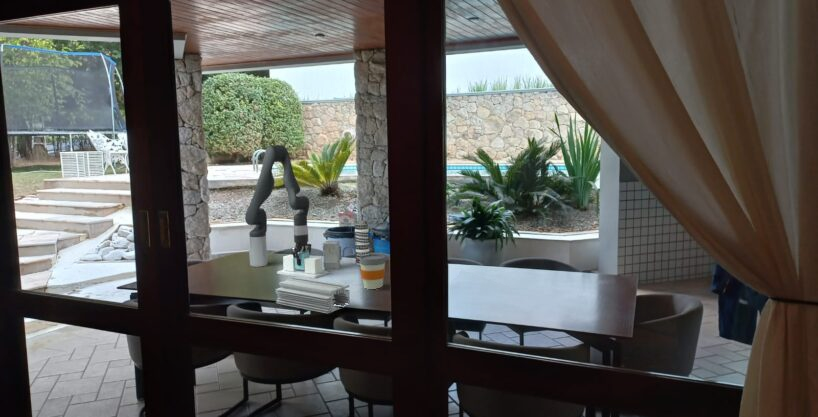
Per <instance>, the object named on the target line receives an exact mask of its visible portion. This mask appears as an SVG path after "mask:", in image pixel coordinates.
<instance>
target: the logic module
mask: <svg viewBox="0 0 818 417" xmlns="http://www.w3.org/2000/svg"><path fill="white" fill-rule="evenodd" d="M298 253H300V252H298ZM295 256H296V255H295ZM298 256H299V254H298ZM309 257H311V254H310V255H309V251H308V252H302V254H301V258H300V259H301V266H298V265H297V259H296V258H295V269H302V270H305V264H304V259H305V258H309Z"/></svg>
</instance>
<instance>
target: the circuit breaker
mask: <svg viewBox="0 0 818 417" xmlns="http://www.w3.org/2000/svg"><path fill="white" fill-rule="evenodd" d="M322 254H323V255H322V256H323V261H322V267H323V271H338V270H339V269H340V268H341V260H342V259H343V258H342V246H341V245H340V240H326V241H324V242H323V243H322Z"/></svg>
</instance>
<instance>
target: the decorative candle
mask: <svg viewBox="0 0 818 417" xmlns="http://www.w3.org/2000/svg"><path fill="white" fill-rule="evenodd" d="M354 228H355V229H354V231H353V234H354V245H355V264H356V266H361V265H360V257H361V256H364V255H371V251H370V244H371V243H370V241H371V238H369V237H371V235H370V234H371V233H370V229H369V222H368V221H367V220H365V219H364V220H357V221H356V222H355V223H354Z"/></svg>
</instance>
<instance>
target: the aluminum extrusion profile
mask: <svg viewBox="0 0 818 417" xmlns="http://www.w3.org/2000/svg"><path fill="white" fill-rule="evenodd" d="M278 284H279V286H280V287H279V288H275V293H276V295H277V298H276V300H275V302H276V304H279V305H283V306H289V307H294V308H298V309H304V310H308V311H313V312H319V313H324V314H330V313H333V312H335V311H338V310H340V309H342V308H339V307H338V306H333V305H334V304H336V305H341V306H344V305H346V304H345V303H348V304H349V303H350V301H351V299H350V292H351V291H350V289H347V288H350V284H346V283H339V282H333V281H326V280H319V279H316V278H307V277H299V276H291V277H290V278H285V280H283V281H279V283H278Z"/></svg>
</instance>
